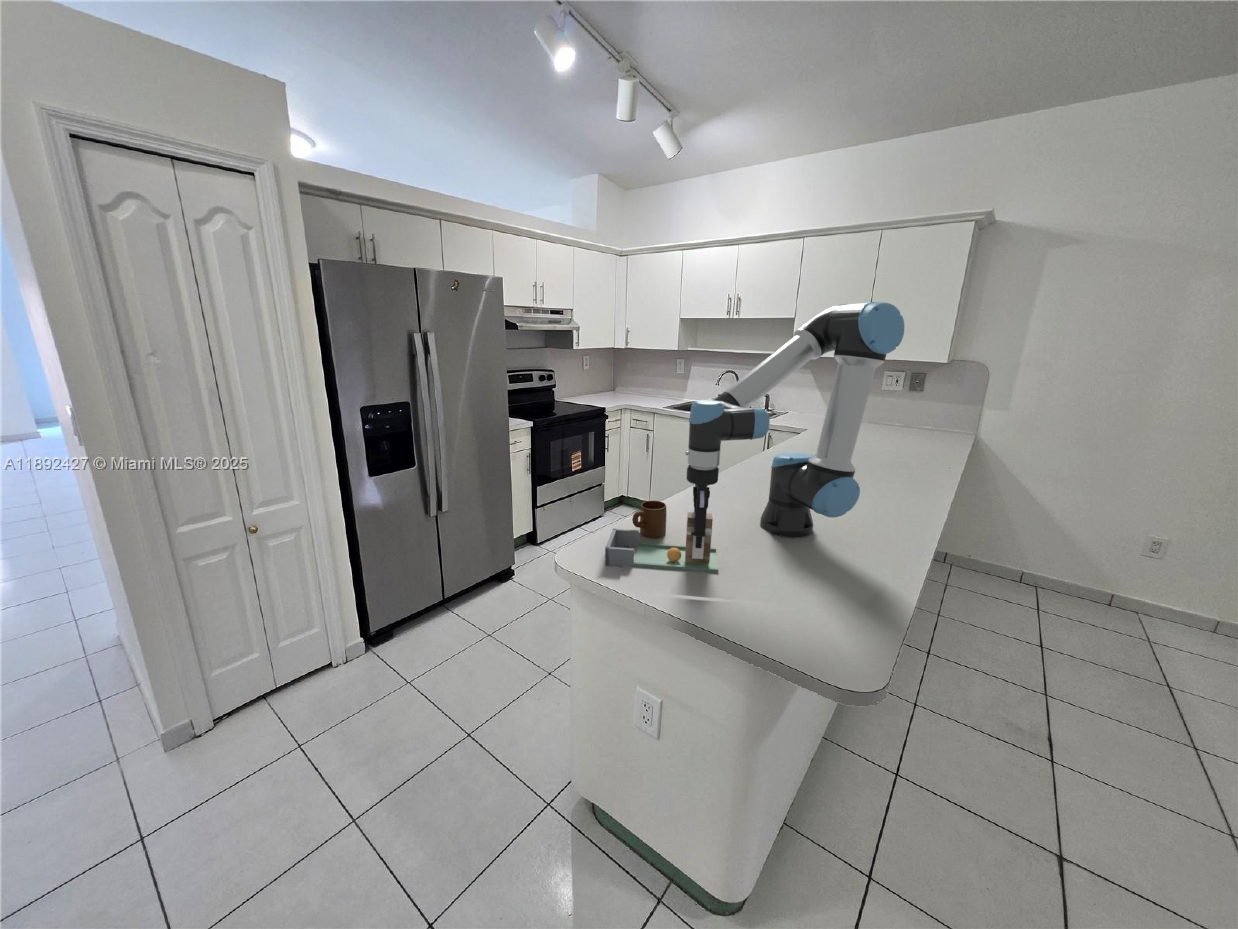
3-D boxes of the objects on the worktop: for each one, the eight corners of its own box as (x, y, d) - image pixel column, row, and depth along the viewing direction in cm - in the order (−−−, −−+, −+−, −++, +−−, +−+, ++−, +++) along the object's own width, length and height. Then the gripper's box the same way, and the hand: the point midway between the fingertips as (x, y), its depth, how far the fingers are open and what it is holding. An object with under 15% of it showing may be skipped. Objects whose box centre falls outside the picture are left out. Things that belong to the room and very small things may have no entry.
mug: (642, 547, 128) (643, 516, 125) (623, 538, 133) (623, 508, 130) (671, 535, 136) (672, 505, 133) (652, 527, 141) (652, 498, 138)
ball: (681, 558, 121) (681, 545, 120) (680, 565, 117) (681, 552, 116) (667, 557, 121) (667, 544, 120) (666, 563, 118) (667, 551, 117)
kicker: (708, 556, 119) (712, 513, 116) (709, 563, 116) (712, 519, 112) (685, 555, 120) (687, 512, 117) (685, 561, 117) (687, 517, 113)
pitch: (715, 552, 125) (716, 535, 124) (718, 574, 114) (719, 556, 112) (612, 545, 129) (612, 528, 128) (605, 566, 118) (605, 548, 116)
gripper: (687, 455, 119) (682, 538, 126) (687, 475, 103) (682, 569, 110) (716, 457, 118) (710, 540, 125) (721, 477, 102) (714, 571, 109)
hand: (697, 553), depth 118 cm, fingers closed on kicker, 4 cm apart
